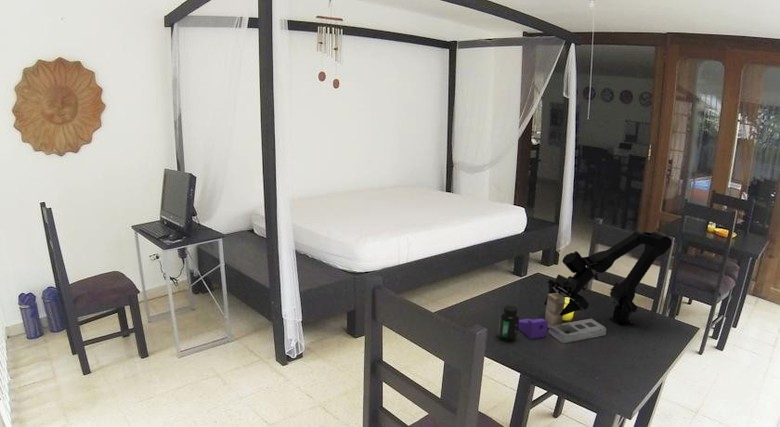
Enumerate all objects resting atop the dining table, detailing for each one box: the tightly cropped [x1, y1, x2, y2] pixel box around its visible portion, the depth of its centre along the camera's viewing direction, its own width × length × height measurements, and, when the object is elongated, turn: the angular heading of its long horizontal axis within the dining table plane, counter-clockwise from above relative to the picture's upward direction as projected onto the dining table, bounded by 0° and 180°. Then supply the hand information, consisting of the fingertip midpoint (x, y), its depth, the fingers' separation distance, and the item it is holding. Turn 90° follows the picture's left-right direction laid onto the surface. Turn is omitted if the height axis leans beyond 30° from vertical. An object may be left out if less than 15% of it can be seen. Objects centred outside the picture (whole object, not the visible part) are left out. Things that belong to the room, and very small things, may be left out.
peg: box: [544, 293, 566, 329], centre depth 191 cm, size 4×4×13 cm
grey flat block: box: [548, 318, 607, 344], centre depth 187 cm, size 20×8×3 cm, turn 111°
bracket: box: [518, 318, 548, 339], centre depth 188 cm, size 12×7×7 cm, turn 19°
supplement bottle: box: [498, 304, 520, 342], centre depth 182 cm, size 7×7×12 cm
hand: (552, 309), depth 190 cm, fingers open, 9 cm apart
